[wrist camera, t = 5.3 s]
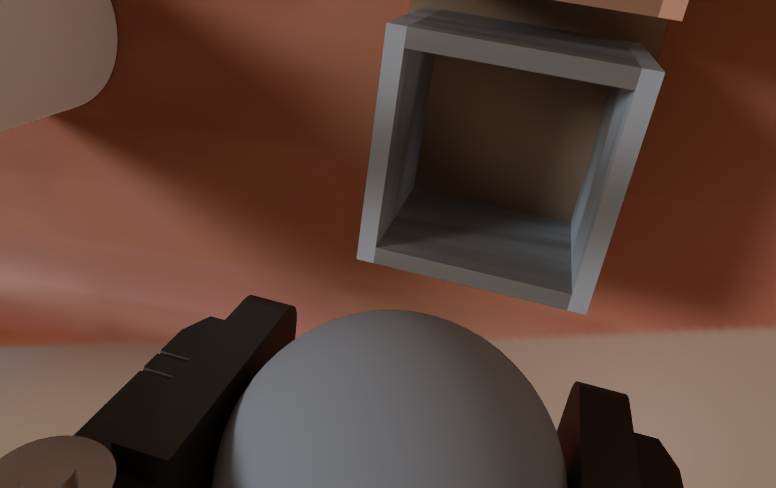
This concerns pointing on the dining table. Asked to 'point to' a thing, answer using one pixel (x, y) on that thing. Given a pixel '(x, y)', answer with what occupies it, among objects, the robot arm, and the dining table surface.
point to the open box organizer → (510, 140)
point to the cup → (53, 56)
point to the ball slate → (389, 412)
